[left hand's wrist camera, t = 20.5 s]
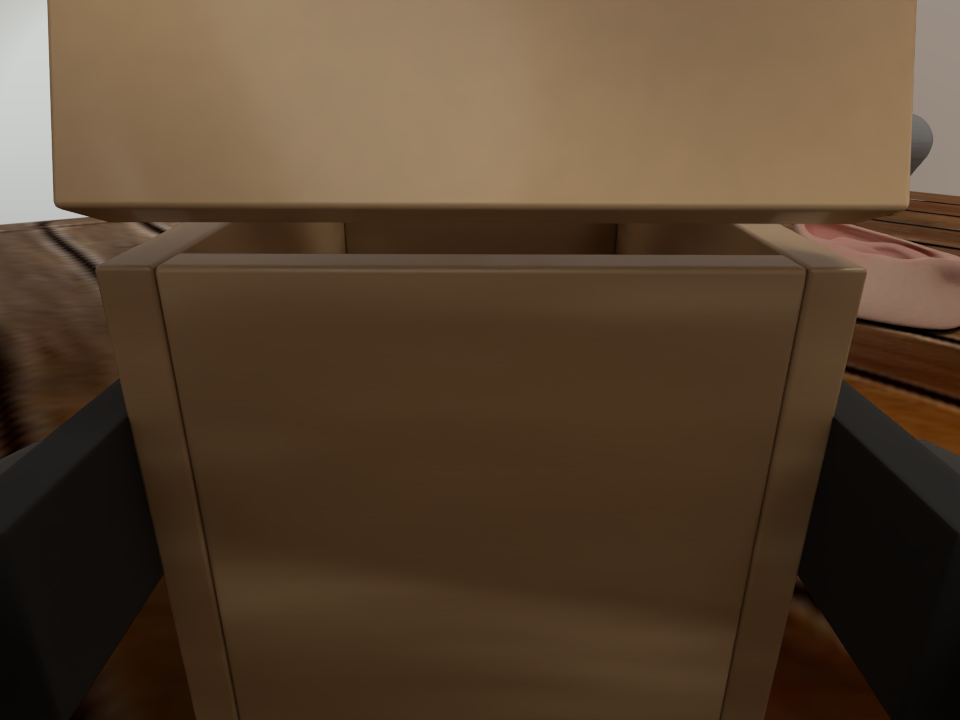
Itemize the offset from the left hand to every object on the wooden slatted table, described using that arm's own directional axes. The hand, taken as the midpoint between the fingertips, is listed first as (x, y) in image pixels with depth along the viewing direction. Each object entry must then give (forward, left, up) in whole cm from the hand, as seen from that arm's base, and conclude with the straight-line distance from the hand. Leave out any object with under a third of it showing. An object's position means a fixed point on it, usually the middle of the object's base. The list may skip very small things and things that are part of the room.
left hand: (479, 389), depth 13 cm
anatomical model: (-7, +39, -7) cm, 40 cm away
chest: (-2, +2, -7) cm, 8 cm away
